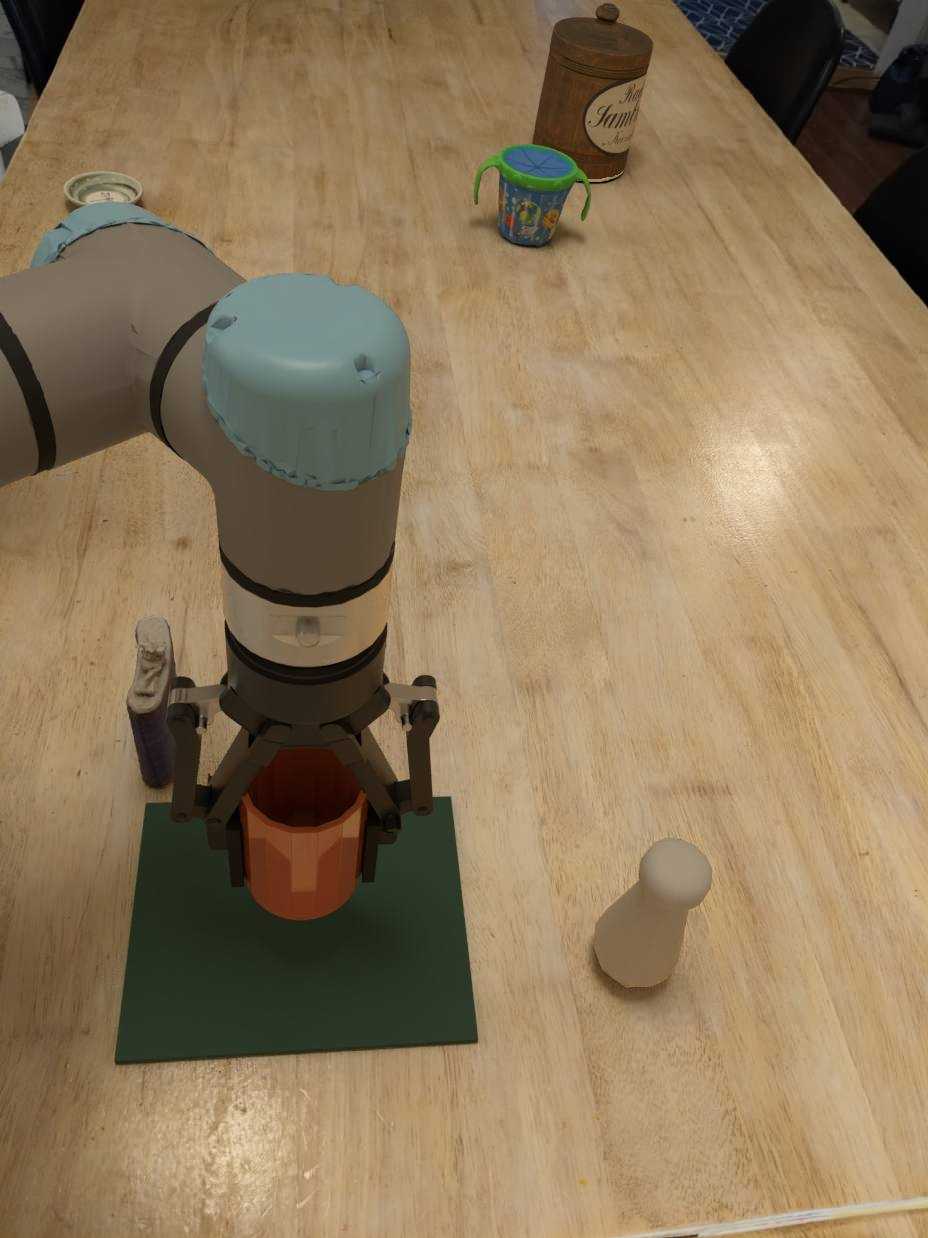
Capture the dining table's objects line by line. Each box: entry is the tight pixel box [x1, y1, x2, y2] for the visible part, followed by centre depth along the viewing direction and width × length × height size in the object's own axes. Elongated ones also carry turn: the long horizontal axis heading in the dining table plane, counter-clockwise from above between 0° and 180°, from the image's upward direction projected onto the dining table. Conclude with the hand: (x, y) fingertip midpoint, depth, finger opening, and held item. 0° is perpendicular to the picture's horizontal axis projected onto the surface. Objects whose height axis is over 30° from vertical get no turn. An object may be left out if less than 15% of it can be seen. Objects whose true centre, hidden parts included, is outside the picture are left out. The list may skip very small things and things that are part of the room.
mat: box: [113, 795, 479, 1065], centre depth 69 cm, size 22×18×1 cm
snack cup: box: [473, 143, 592, 247], centre depth 136 cm, size 16×10×10 cm
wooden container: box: [531, 2, 654, 179], centre depth 151 cm, size 15×15×22 cm
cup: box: [239, 748, 369, 920], centre depth 60 cm, size 7×7×10 cm
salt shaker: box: [592, 837, 713, 989], centre depth 65 cm, size 6×6×13 cm
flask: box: [125, 615, 178, 790], centre depth 73 cm, size 9×3×11 cm, turn 7°
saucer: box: [62, 170, 144, 208], centre depth 130 cm, size 10×10×2 cm
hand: (303, 865), depth 64 cm, fingers closed on cup, 7 cm apart
